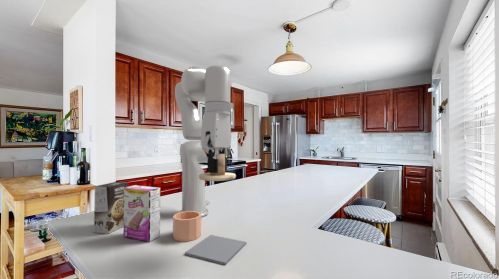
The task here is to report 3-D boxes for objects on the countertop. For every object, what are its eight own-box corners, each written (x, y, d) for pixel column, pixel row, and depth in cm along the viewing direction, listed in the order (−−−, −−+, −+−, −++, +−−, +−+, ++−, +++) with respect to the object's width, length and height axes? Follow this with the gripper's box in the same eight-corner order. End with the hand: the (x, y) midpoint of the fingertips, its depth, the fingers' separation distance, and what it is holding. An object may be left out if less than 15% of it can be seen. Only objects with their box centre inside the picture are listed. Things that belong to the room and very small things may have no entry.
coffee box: (109, 234, 76) (109, 186, 77) (93, 232, 78) (93, 185, 78) (128, 224, 85) (129, 181, 85) (114, 223, 87) (114, 181, 87)
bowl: (185, 228, 81) (185, 209, 81) (206, 232, 78) (206, 213, 78) (167, 238, 73) (167, 217, 73) (189, 243, 70) (189, 221, 70)
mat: (210, 236, 75) (210, 234, 75) (246, 243, 70) (246, 241, 70) (184, 254, 63) (184, 252, 63) (225, 264, 58) (225, 262, 58)
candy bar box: (122, 237, 74) (122, 187, 74) (134, 232, 78) (134, 184, 79) (149, 243, 70) (149, 190, 70) (160, 236, 75) (161, 187, 75)
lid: (212, 174, 73) (212, 153, 73) (241, 176, 69) (241, 153, 69) (191, 179, 64) (191, 154, 64) (224, 182, 59) (224, 155, 59)
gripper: (221, 113, 76) (221, 168, 76) (189, 106, 60) (188, 174, 60) (241, 112, 73) (241, 169, 73) (212, 104, 57) (212, 176, 57)
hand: (217, 171), depth 66 cm, fingers closed on lid, 4 cm apart
